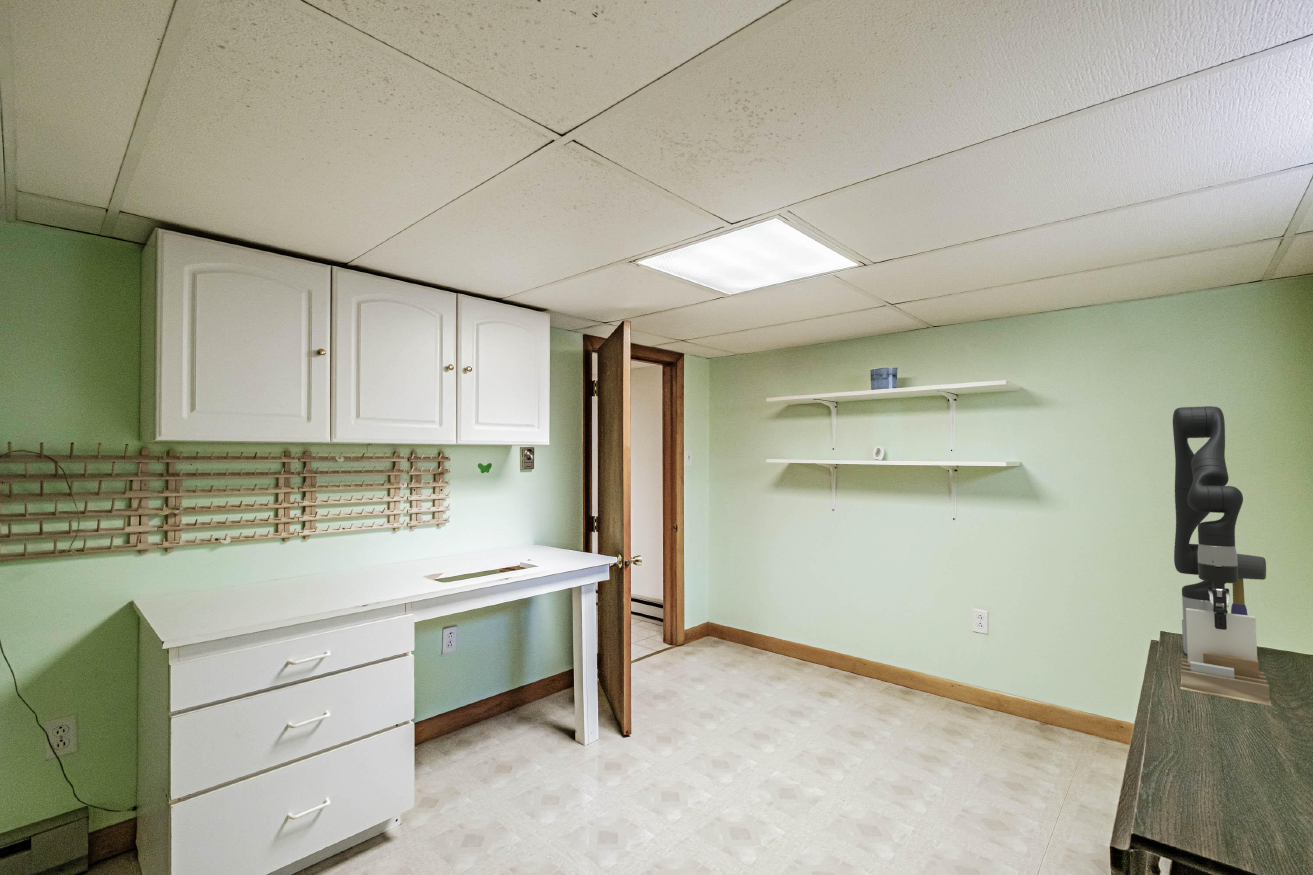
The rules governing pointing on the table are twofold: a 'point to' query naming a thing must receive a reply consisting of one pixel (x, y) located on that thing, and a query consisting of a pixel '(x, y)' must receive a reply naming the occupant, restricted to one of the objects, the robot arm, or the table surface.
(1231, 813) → the table surface
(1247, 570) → the rubber mallet
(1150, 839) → the table surface
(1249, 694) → the rack
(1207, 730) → the table surface
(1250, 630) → the sheet
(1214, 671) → the offcut grey
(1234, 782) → the table surface
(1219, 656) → the offcut oak
